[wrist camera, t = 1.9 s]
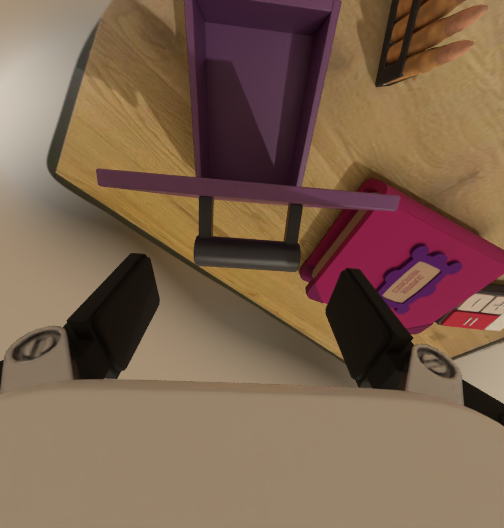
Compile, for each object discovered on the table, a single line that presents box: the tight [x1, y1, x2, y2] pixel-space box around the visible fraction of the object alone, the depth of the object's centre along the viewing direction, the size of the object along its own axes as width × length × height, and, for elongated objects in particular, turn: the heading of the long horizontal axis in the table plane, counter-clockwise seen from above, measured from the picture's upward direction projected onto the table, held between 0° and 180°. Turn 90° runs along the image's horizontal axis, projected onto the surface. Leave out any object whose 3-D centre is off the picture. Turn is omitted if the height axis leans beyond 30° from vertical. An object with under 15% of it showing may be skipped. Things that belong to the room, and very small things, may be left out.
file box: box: [184, 0, 342, 187], centre depth 24 cm, size 17×13×7 cm
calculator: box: [435, 284, 504, 331], centre depth 45 cm, size 11×4×15 cm
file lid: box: [96, 169, 400, 272], centre depth 18 cm, size 18×13×5 cm
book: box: [299, 178, 504, 334], centre depth 37 cm, size 21×28×8 cm
